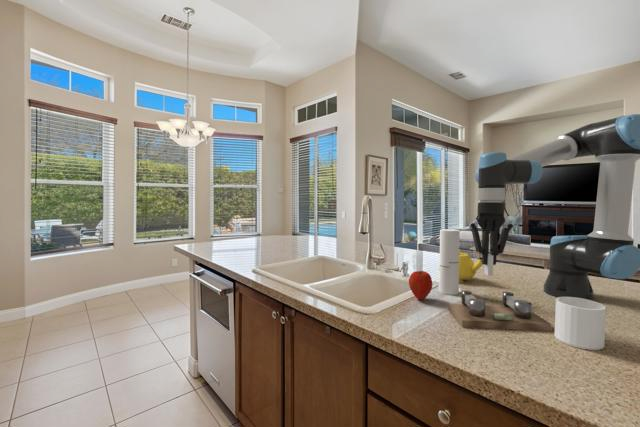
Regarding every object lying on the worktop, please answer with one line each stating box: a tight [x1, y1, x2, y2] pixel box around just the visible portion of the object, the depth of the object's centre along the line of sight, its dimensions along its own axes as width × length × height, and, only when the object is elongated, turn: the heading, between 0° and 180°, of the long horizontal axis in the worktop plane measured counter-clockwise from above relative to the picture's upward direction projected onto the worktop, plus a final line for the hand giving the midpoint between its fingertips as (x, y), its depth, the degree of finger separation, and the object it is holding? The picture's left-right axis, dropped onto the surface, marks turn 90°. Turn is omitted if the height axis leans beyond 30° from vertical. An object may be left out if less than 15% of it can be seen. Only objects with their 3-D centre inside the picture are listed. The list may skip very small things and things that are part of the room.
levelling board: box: [447, 303, 552, 332], centre depth 95 cm, size 24×14×4 cm, turn 83°
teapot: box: [438, 249, 484, 284], centre depth 139 cm, size 20×16×14 cm
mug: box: [554, 296, 607, 351], centre depth 81 cm, size 13×10×10 cm
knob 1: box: [461, 290, 487, 317], centre depth 97 cm, size 13×4×4 cm, turn 173°
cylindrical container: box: [438, 228, 461, 296], centre depth 122 cm, size 7×7×25 cm
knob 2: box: [502, 291, 533, 318], centre depth 96 cm, size 13×4×4 cm, turn 173°
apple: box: [408, 270, 433, 301], centre depth 114 cm, size 9×8×11 cm
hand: (488, 274), depth 99 cm, fingers closed
